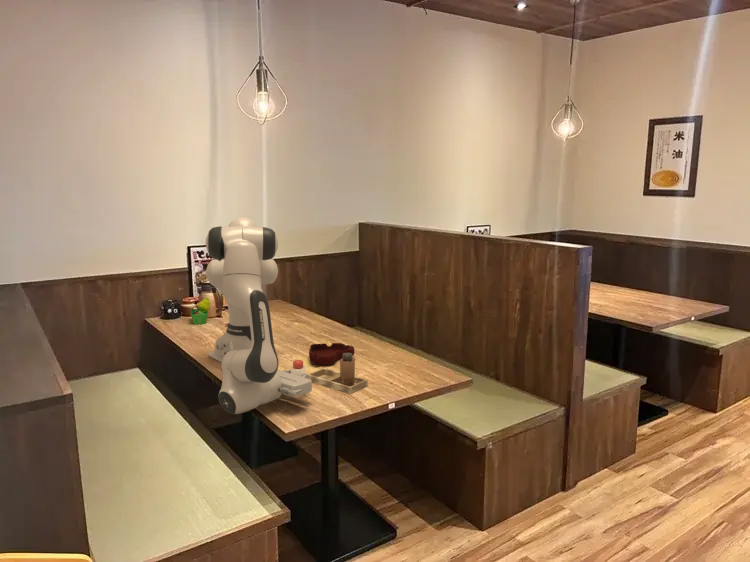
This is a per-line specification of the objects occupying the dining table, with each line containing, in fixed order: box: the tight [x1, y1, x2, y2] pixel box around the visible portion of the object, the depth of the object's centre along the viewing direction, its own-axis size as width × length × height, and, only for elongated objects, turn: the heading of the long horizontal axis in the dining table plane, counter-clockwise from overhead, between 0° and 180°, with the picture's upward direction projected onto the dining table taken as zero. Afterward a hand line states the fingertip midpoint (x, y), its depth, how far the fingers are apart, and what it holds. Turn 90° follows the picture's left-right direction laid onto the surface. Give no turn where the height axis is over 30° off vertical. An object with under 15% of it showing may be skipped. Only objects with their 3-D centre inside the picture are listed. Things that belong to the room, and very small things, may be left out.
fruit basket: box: [190, 297, 211, 326], centre depth 270 cm, size 11×9×11 cm
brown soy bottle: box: [339, 353, 356, 386], centre depth 189 cm, size 5×5×11 cm
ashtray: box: [308, 342, 355, 367], centre depth 218 cm, size 18×16×5 cm
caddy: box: [309, 367, 369, 395], centre depth 192 cm, size 19×9×3 cm, turn 53°
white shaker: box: [290, 359, 307, 377], centre depth 184 cm, size 5×5×11 cm
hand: (300, 374), depth 185 cm, fingers closed on white shaker, 5 cm apart
